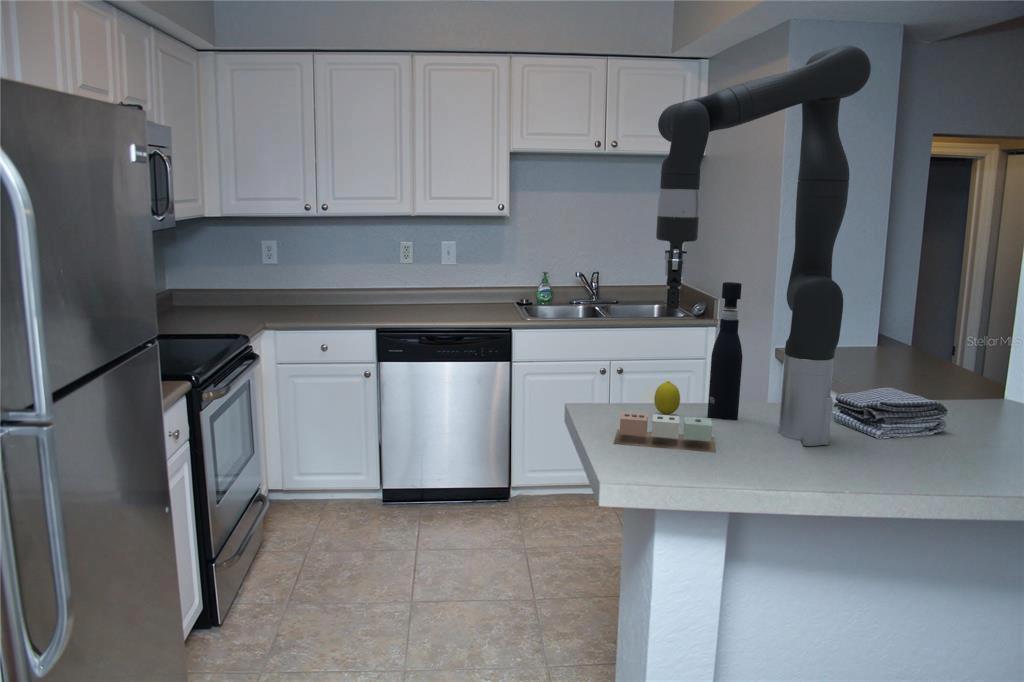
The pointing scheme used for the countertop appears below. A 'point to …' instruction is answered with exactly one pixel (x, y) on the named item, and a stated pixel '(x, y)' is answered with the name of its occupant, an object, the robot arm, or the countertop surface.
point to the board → (665, 442)
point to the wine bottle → (726, 360)
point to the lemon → (667, 398)
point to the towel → (889, 413)
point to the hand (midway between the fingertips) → (672, 307)
